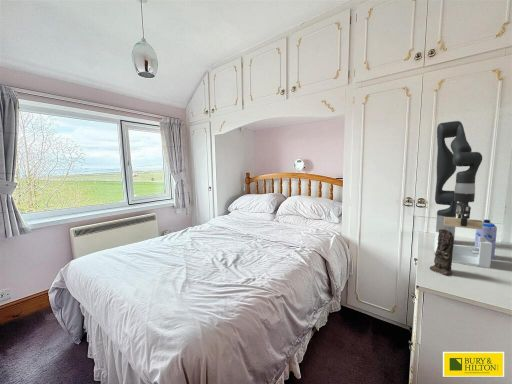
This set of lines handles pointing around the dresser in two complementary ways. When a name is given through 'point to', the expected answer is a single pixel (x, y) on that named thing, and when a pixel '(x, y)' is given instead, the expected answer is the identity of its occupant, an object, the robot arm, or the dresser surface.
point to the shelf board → (457, 223)
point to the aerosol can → (487, 235)
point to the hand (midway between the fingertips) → (461, 224)
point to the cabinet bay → (471, 253)
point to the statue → (444, 253)
